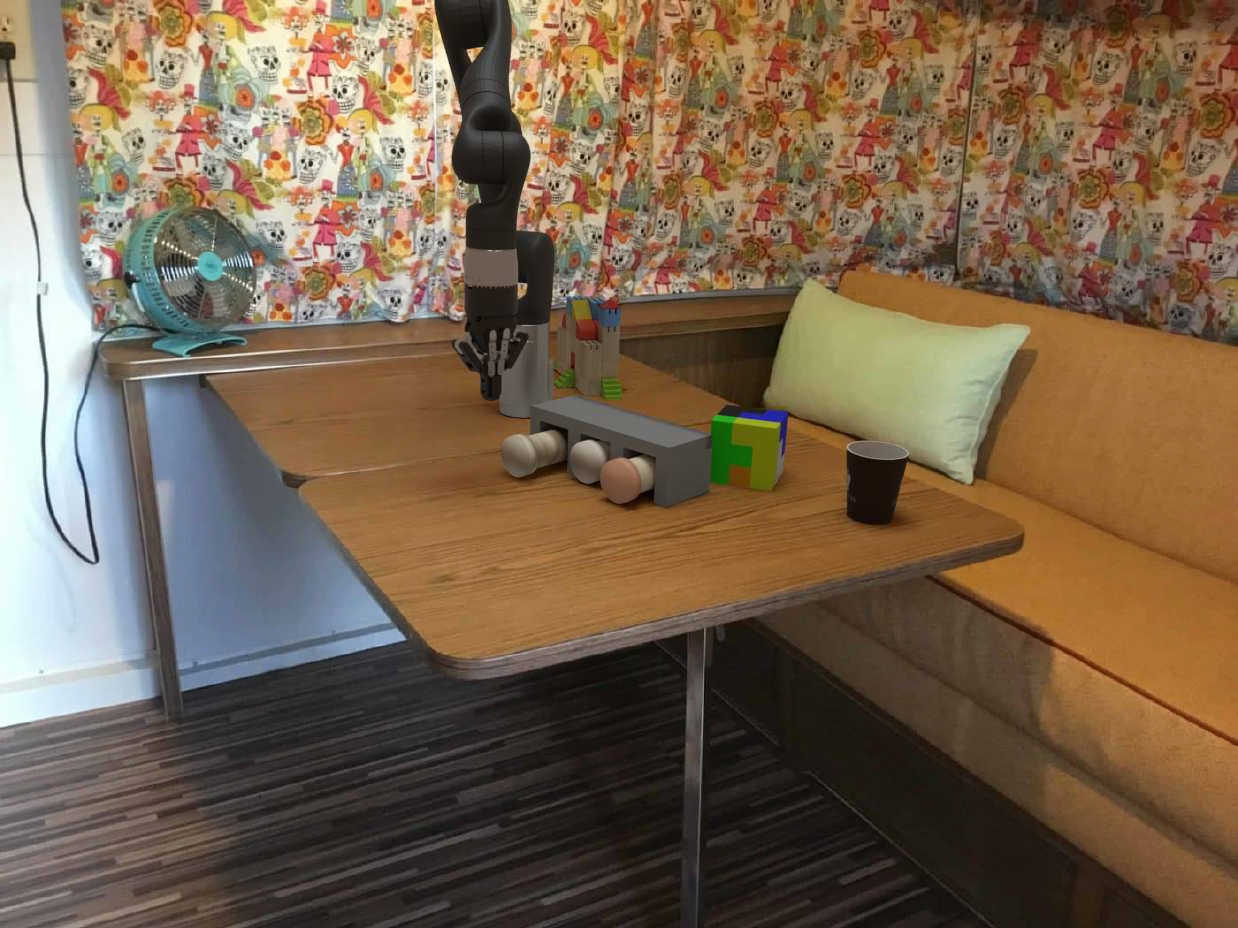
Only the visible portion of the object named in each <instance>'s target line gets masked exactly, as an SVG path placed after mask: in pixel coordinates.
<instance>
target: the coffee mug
mask: <svg viewBox="0 0 1238 928" xmlns="http://www.w3.org/2000/svg"><path fill="white" fill-rule="evenodd" d="M909 456H910V452H909V450H908V449H906V448H905V447H902V446H900V445H897V444H894V443H890V442H885V441H879V440H877V441H876V440H859V441H853V442H850V443H848V444H847V445H846V515H847V517H848V518H849V519H851V520H853V521H855V522H858V523H861V524H865V525H876V526H877V525H878V526H879V525H886V524H889V523H891V522H892V521H893V518H894V514H895V510H896V507H897V502H898V499H899V494H900V491H901V488H902V484H903V481H904V476H905V471H906V468H907V464H908V460H909Z"/></svg>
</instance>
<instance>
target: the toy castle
mask: <svg viewBox="0 0 1238 928" xmlns="http://www.w3.org/2000/svg"><path fill="white" fill-rule="evenodd" d="M565 301H566V303H565V304H566V306H565V309H566V310H565V312H566V313H564V315H563V317H562V319H561V323H560V324H559V323H558V324H557V339H556V341H557V343H556V344H557V345H556V355H555V358H554V360H553V367H555V369H557V370H558V371H559V372H560V373H561V374H562V375H559V376H558V377H557V380H556V379H555V380H553V384H554V383H555V384H556V385H557V386H558V387H576V388H577V389H578V390H579V391H580V392H581V393H582V394H583V395H584V396H583V395H582V394H581V393H580V392H579V391H578V390H577V389H576V388H575V389H576V390H577V391H578V392H579V393H580V394H581V395H582V396H583V397H600V395H601V397H602V398H603V399H604V398H605V399H606V401H616V400H615V399H622V400H623V399H624V396H623V394H622V393H623V392H622V391H623V390H622V389H628V390H629V388H628V387H627V386H626V385H625V384H624V383H623V382H622V381H621V380H620V379H619V371H620V370H619V369H620V367H619V366H620V363H619V362H620V338H621V337H620V336H621V335H620V334H621V330H620V329H621V326H622V325H621V324H622V323H621V322H622V308H621V307H620V306H619V305H618V304H617V303H616V302H615V301H614V299H612V298H609V299H607V300H606V299H605V298H603V297H601V296H600V295H597V296H594V295H592V296H591V295H590V296H588V295H587V296H586V295H585V296H583V295H578V296H577V295H573V296H569V295H567V296H566V299H565ZM558 387H557V388H558ZM596 395H597V396H596ZM605 399H604V400H605ZM612 399H614V400H612Z"/></svg>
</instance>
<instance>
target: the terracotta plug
mask: <svg viewBox="0 0 1238 928" xmlns="http://www.w3.org/2000/svg"><path fill="white" fill-rule="evenodd" d="M655 469H656V457H653V456H650V455H647V454H645V455H641V456H638V457H635V458H631V459H626V458H617V459H614V460H610V461H608V462H606V463H605V464H604V465H603V467H602V469H601V473H600V486H601V489H602V491H603V493H604V495H605V496H606V497H607V498H608V500H609V501H611V502H612V503H614V504H618V505H621V504H625V503H629V502H631V501H633V500H636V498H638V496H639V495H640V494H642V493H645V492H647V491H651V490H653V489H655Z"/></svg>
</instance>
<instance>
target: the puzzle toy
mask: <svg viewBox="0 0 1238 928" xmlns="http://www.w3.org/2000/svg"><path fill="white" fill-rule="evenodd" d="M788 421H789V412H788V411H781V410H775V409H774V410H773V409H766V408H758V407H757V408H756V407H751V406H750V407H748V406H741V405H735V404H734V405H732V404H726V405H724V406H723V408H722V409H721V410H720V411H719V412H718V413H717V414H716V415H715V416H714V417H713V418H712V419H711V423H710V434H713V441H712V455H711V470H710V483H712V484H713V483H714V484H719V485H726V486H733V487H740V488H747V489H752V490H753V489H754V490H760V491H767V492H772V491H773V489H774V487H775V485H776V484H777V482H778V480H779V479H780V477H781V476H782V474H783V473H784V467H785V466H784V465H785V464H784V463H785V457H786V456H785V454H786V444H787V435H788Z"/></svg>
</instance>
